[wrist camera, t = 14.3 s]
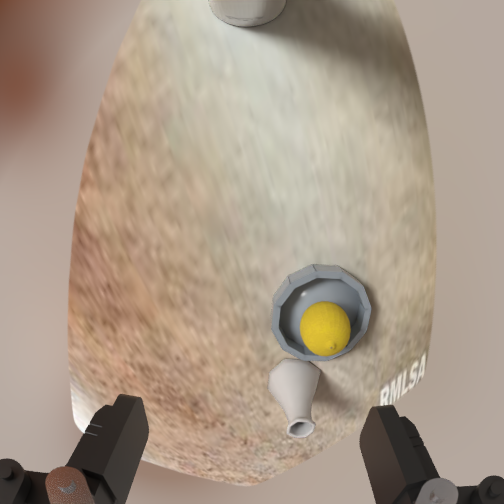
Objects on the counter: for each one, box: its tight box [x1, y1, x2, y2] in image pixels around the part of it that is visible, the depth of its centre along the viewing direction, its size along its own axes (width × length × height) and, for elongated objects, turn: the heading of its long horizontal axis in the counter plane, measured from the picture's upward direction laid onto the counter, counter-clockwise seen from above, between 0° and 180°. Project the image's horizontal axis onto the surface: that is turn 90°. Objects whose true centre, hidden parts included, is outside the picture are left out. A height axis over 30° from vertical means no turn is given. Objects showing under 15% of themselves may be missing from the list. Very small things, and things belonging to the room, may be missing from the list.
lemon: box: [300, 301, 351, 356], centre depth 33 cm, size 6×6×8 cm
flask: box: [267, 359, 321, 438], centre depth 35 cm, size 7×7×10 cm
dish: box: [271, 264, 371, 361], centre depth 36 cm, size 12×12×2 cm
